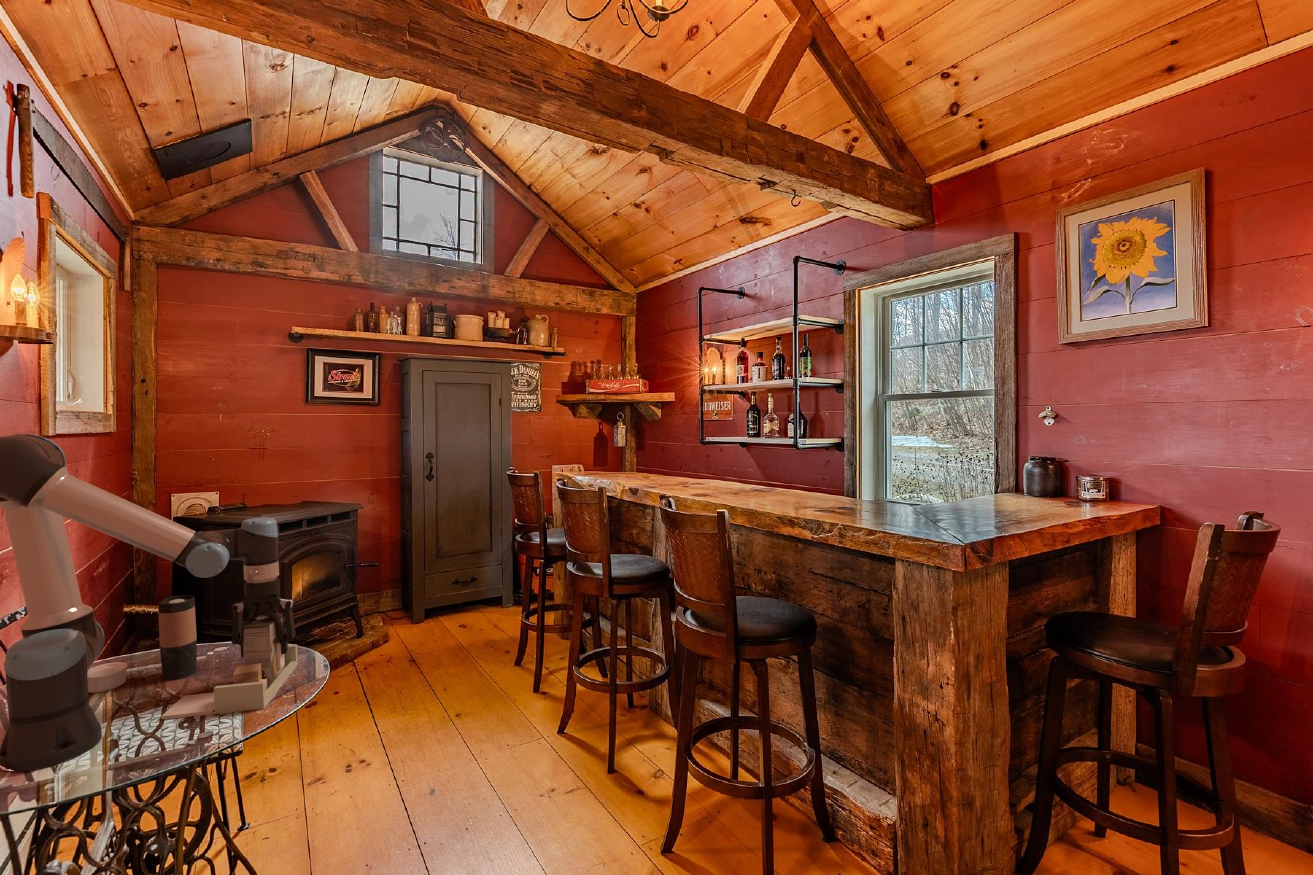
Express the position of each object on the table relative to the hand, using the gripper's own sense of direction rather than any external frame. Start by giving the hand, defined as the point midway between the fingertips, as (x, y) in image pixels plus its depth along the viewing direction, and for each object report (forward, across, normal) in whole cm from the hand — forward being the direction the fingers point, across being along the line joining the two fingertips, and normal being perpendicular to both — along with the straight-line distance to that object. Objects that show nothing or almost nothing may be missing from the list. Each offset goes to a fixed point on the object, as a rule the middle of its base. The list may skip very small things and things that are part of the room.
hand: (265, 667), depth 157 cm
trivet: (+3, -10, -11) cm, 16 cm away
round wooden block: (+4, -38, +7) cm, 39 cm away
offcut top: (0, 0, -11) cm, 11 cm away
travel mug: (+4, -24, +10) cm, 26 cm away
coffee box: (+4, 0, 0) cm, 4 cm away
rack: (+3, 0, -4) cm, 5 cm away
